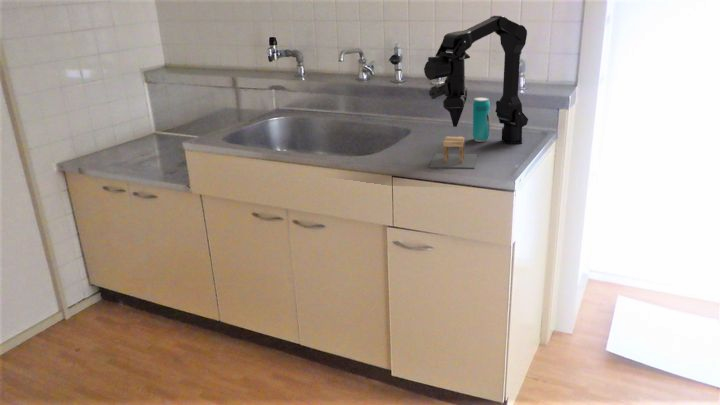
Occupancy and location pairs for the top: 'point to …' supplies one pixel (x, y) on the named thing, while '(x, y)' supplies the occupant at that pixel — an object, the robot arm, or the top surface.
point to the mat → (454, 161)
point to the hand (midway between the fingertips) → (456, 122)
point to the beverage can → (481, 119)
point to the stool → (453, 143)
